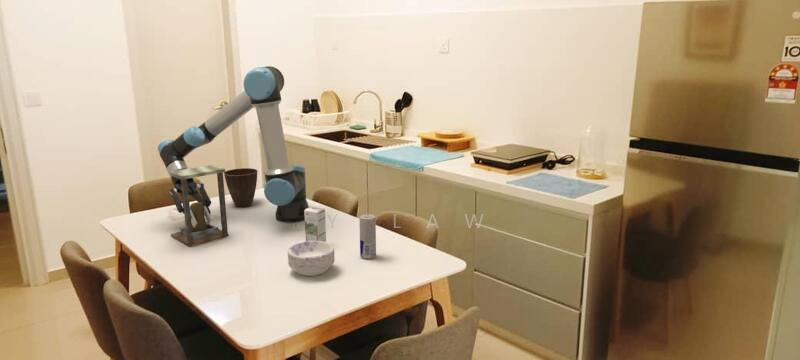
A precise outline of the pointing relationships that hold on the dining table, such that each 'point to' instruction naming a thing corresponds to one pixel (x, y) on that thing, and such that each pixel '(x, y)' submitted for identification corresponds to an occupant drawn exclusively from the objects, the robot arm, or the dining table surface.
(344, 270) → the dining table surface
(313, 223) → the syrup box
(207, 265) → the dining table surface
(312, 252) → the paper bowls
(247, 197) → the plant pot
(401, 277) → the dining table surface
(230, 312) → the dining table surface
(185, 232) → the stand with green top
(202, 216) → the cork
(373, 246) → the beverage can
